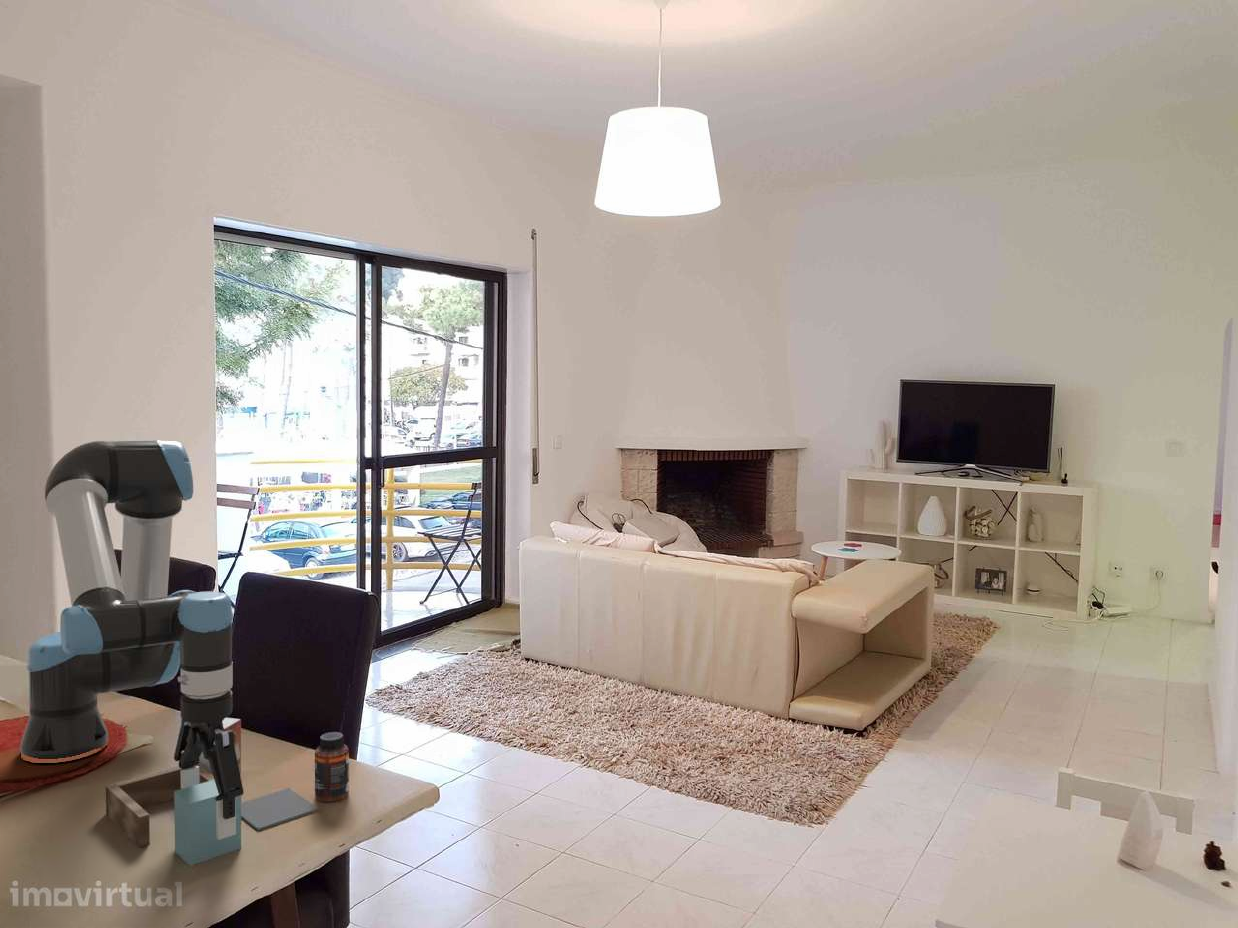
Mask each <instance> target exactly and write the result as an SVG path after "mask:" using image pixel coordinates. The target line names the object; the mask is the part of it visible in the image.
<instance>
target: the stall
mask: <svg viewBox="0 0 1238 928" xmlns="http://www.w3.org/2000/svg"><path fill="white" fill-rule="evenodd" d="M194 766H199V784H201V783H204V782H208V781H211V780H214V777H213V775H212V774H211V773H209V772H208V771H207V770H205V769H204V768H203V767H201V766H200V765H198V764H195V765H193V767H194ZM181 770H182V768H180V767H179V765H178V766H175V767H172V768H167V769H164V770H163V769H162V770H159V771H156V772H153V773H149V774H144V775H141V776H138V777H134V778H129V779H127V780H123V781H119V782H116V783H112V784H108V785H105V813H106V815H107V817H109V818H110V820H111V821H112V822H113V823H115V824H116V826H118V828H120V830H122V831H123V832H124V833H125V834H126V835H127V837H129V838H130V839H131V840H132V841H133V842H134V843H135V844H136V845H137V846H138V847H139V848H142V847H144V846H148V845H150V844H151V843H150V841H151V839H150V838H151V837H150V836H151V835H150V833H151V832H150V831H151V830H150V814H149V813H148V811H146V810H145V809H144V808H146V807H150V806H152V805H155V804H159V803H162V802H166V801H169V800H172V799H173V800H174V791H177V790H180V789H181Z"/></svg>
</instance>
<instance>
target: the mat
mask: <svg viewBox="0 0 1238 928" xmlns="http://www.w3.org/2000/svg"><path fill="white" fill-rule="evenodd" d="M319 810H320V808H319V806H316V804H313V802H310V801H309V800H307V799H306V798H305V797H303V796H301V795H300V794H299V793H297V792H295V791H294V790H292V789H291V788H290V787H288V788H284V789H281V790H278V791H275V792H272V793H268V794H265V795H261V796H259V797H254V798H252V799H249V800H245V801H241V820H242V819H243V820H244V821H245V823H247V824H248V825H250V826H251V827H252V828H254V829H255V830H256V831H262V830H265V829H267V828H271V827H275V826H276V825H280V824H282V823H286V822H289V821H291V820H295V819H298V818H300V817H304V816H306V815H308V814H312V813H315V812H317V811H319ZM314 811H315V812H314Z"/></svg>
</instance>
